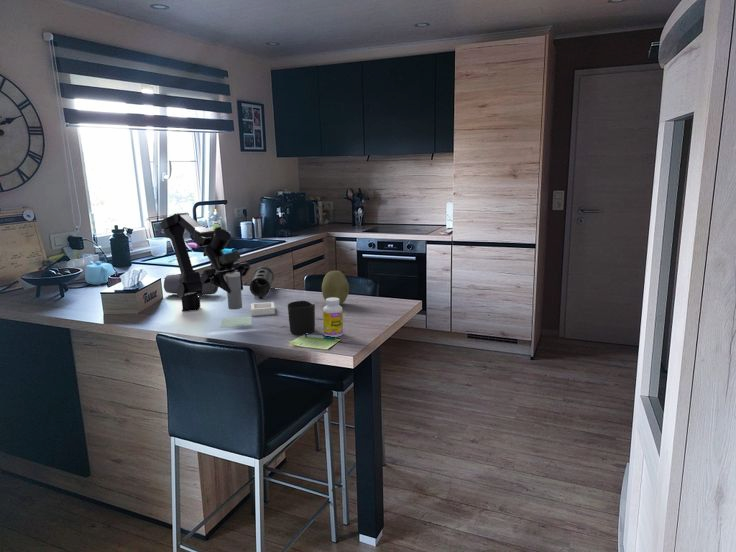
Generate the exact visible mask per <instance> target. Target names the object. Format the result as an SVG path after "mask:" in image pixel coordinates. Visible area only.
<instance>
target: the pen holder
mask: <svg viewBox="0 0 736 552" xmlns="http://www.w3.org/2000/svg"><path fill="white" fill-rule="evenodd" d="M287 311H288V313H287V314H288V322H289V323H288V324H289V332H290V333H291V334H292V335H295V336H304V335H303V334H306V333H310V334H312V332H313V333H314V332H315V329H316V313H315V312H316V304H315V303H314V304H312V303H311V302H310V301H307V300H295V301H291V302H289V303H288V304H287Z"/></svg>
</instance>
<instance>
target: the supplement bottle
mask: <svg viewBox="0 0 736 552" xmlns="http://www.w3.org/2000/svg"><path fill="white" fill-rule="evenodd" d="M339 302H340V301H339V298H335V297H332V298H327V299H326V301H325V304H326V305H325V306H323V309H322V315H323V316H322V317H323V336H325V337H326V336H331V337H335V338H340V337H341V336H343V333H344V327H343V325H344V324H343V323H344V319H343V318H344V317H343V316H344V315H343V313H344V311H343V307H342V306H341V305H339ZM339 336H340V337H339Z"/></svg>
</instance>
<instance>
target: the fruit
mask: <svg viewBox="0 0 736 552" xmlns="http://www.w3.org/2000/svg"><path fill="white" fill-rule="evenodd" d="M349 285H350V284H349V281H348V279H347V277H346V276H345V274H344V273H343V272H341V271H340V270H335V269H334V270H330V271H328V272H327V273H326V274H325V276H324V277H323V280H322V283H321V293H322V297H323V299H324V301H325V302H326V299H327V298H332V297H335V298H339V301H340V302H339V305H340V306H341V305H342V304H344V302H345V301H346V300H347V298H348V295H349V291H350V290H349V289H350V287H349Z"/></svg>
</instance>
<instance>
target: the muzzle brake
mask: <svg viewBox="0 0 736 552" xmlns="http://www.w3.org/2000/svg"><path fill="white" fill-rule="evenodd" d="M274 278H275V272H274V270H273V268H271V267H269V266H267V265H261V266H259V267H257V268H256V269H255V270H254V273H253V277H252V279H251V281H250V283H249V291H250V292H251V294H252V295H253V296H255V297H256V298H259V299H263V298H264V297H266V296H267V295H269V293H270V291H271V288H272V284H273V282H274Z"/></svg>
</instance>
